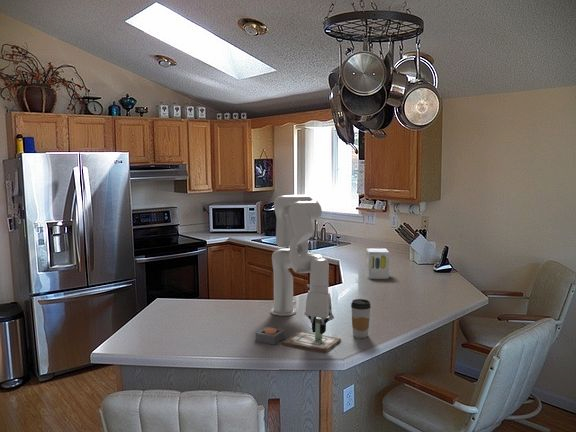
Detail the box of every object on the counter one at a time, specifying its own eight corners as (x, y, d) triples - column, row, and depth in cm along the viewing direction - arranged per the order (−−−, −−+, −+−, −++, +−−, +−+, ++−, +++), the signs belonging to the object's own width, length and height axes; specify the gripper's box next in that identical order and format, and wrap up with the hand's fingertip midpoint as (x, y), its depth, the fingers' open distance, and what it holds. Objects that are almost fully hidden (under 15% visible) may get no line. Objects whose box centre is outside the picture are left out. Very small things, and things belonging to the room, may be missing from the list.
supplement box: (367, 278, 314) (368, 251, 313) (365, 274, 328) (365, 248, 326) (388, 278, 314) (389, 251, 312) (385, 274, 327) (386, 248, 325)
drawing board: (300, 333, 214) (300, 330, 214) (340, 341, 204) (340, 338, 204) (282, 344, 201) (282, 341, 201) (325, 353, 191) (325, 350, 191)
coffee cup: (368, 332, 216) (368, 298, 214) (371, 338, 207) (372, 304, 206) (349, 332, 215) (349, 298, 214) (352, 339, 207) (352, 304, 205)
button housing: (267, 334, 213) (267, 326, 212) (285, 337, 208) (285, 330, 208) (255, 340, 205) (255, 332, 205) (274, 344, 201) (274, 336, 200)
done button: (268, 331, 210) (268, 326, 210) (278, 333, 207) (278, 328, 207) (262, 335, 205) (262, 330, 205) (272, 337, 203) (272, 332, 203)
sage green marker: (317, 336, 205) (317, 317, 204) (323, 338, 203) (323, 319, 202) (313, 338, 202) (313, 319, 201) (320, 340, 200) (320, 321, 200)
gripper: (297, 288, 201) (296, 331, 203) (333, 293, 193) (333, 338, 195) (305, 284, 208) (305, 326, 210) (341, 289, 200) (340, 333, 202)
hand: (318, 332), depth 202 cm, fingers closed on sage green marker, 3 cm apart
